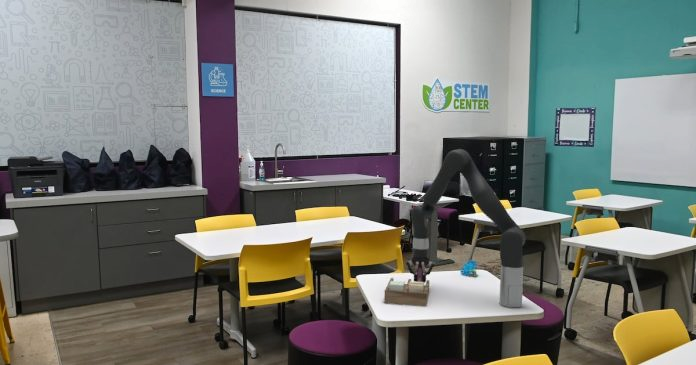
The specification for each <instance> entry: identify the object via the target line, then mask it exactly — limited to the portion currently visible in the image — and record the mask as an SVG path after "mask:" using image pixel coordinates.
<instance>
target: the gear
mask: <svg viewBox="0 0 696 365" xmlns="http://www.w3.org/2000/svg"><path fill="white" fill-rule="evenodd" d="M462 265H463V266H461V267H460V269H461V270H460V271H459V272H460V273H461V276H468V275H469V276H471V274H472V275H475V276H476V277H479V275H478V274H477V266H478V262H476V260H473V259H470V261H469V260H467V261H466V263H463V264H462Z"/></svg>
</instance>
